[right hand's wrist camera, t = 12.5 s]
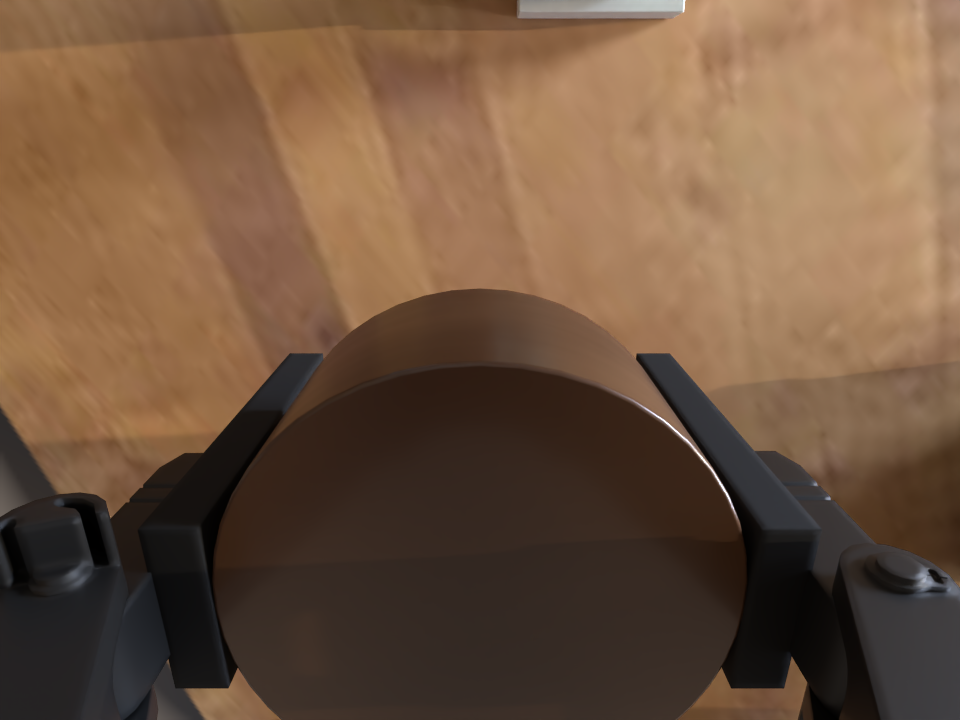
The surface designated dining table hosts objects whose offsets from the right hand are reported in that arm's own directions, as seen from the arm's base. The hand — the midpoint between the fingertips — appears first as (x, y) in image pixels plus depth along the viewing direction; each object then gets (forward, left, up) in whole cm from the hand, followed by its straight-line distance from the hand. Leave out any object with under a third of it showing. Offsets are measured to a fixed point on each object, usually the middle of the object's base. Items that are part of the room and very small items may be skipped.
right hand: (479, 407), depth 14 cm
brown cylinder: (0, 0, +3) cm, 3 cm away
